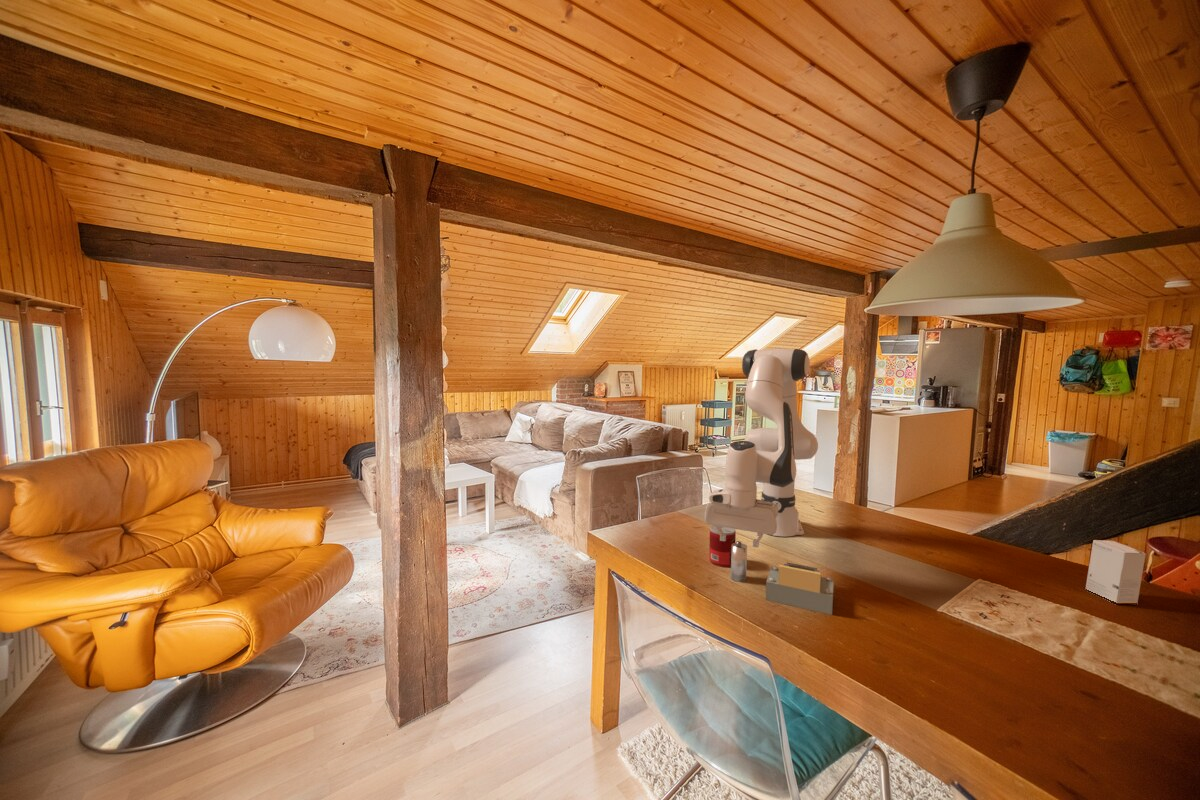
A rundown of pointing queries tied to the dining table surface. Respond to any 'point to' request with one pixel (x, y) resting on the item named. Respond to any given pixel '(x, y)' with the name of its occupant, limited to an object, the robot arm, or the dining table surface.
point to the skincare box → (1115, 571)
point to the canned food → (721, 546)
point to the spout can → (738, 562)
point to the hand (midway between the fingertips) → (739, 543)
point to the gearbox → (800, 587)
